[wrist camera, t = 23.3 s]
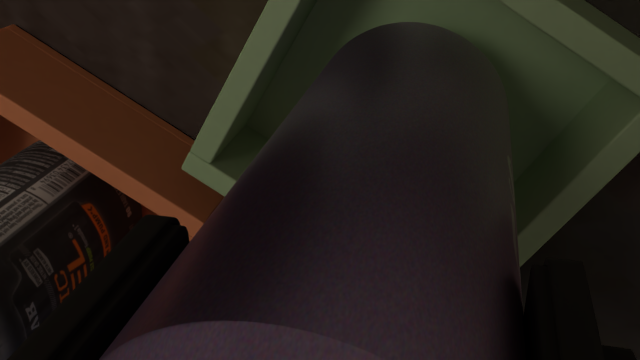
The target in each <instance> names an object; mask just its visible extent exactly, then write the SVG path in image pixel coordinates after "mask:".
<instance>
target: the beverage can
mask: <svg viewBox="0 0 640 360" xmlns="http://www.w3.org/2000/svg"><path fill="white" fill-rule="evenodd" d="M99 360H526V350H525V335H524V321H523V307H522V293H521V279H520V265H519V250H518V236H517V222H516V208H515V194H514V180H513V166H512V151H511V137H510V123H509V109H508V101H507V96H506V92H505V89H504V86H503V83H502V81H501V79H500V77H499V75H498V73H497V71H496V69H495V68H494V66H493V65H492V63H491V62H490V61H489V59H488V58H487V57H486V56H485V55H484V54H483V53H482V52H481V51H480V50H479V49H478V48H477V47H476V46H475V45H473V44H472V43H471V42H469V41H468V40H467V39H465V38H464V37H462V36H460V35H458V34H457V33H454V32H452V31H450V30H448V29H445V28H442V27H439V26H436V25H432V24H427V23H419V22H398V23H391V24H386V25H382V26H378V27H375V28H373V29H370V30H368V31H365V32H363V33H361V34H360V35H358V36H356V37H355V38H353V39H352V40H350V41H349V42H348V43H346V44H345V45H344V46H343V47H342V48H341V49H340V50H338V52H337V53H336V54H335V55H334V56H333V57H332V59H331V60H330V61H329V62H328V64H327V65H326V66H325V68H324V69H323V70H322V71H321V73H320V74H319V75H318V77H317V78H316V79H315V81H314V82H313V83H312V84H311V86H310V87H309V88H308V90H307V91H306V92H305V93H304V95H303V96H302V97H301V99H300V100H299V101H298V103H297V104H296V105H295V106H294V108H293V109H292V110H291V112H290V113H289V114H288V115H287V117H286V118H285V119H284V121H283V122H282V123H281V125H280V126H279V127H278V128H277V130H276V131H275V132H274V134H273V135H272V136H271V137H270V139H269V140H268V141H267V143H266V144H265V145H264V147H263V148H262V149H261V150H260V152H259V153H258V154H257V156H256V157H255V158H254V159H253V161H252V162H251V163H250V165H249V166H248V167H247V169H246V170H245V171H244V172H243V174H242V175H241V176H240V178H239V179H238V180H237V182H236V183H235V184H234V185H233V187H232V188H231V189H230V191H229V192H228V193H227V194H226V196H225V197H224V198H223V200H222V201H221V202H220V204H219V205H218V206H217V207H216V209H215V210H214V211H213V213H212V214H211V215H210V216H209V218H208V219H207V220H206V222H205V223H204V224H203V226H202V227H201V228H200V229H199V231H198V232H197V233H196V235H195V236H194V237H193V238H192V240H191V241H190V242H189V244H188V245H187V246H186V248H185V249H184V250H183V251H182V253H181V254H180V255H179V257H178V258H177V259H176V260H175V262H174V263H173V264H172V266H171V267H170V268H169V270H168V271H167V272H166V273H165V275H164V276H163V277H162V279H161V280H160V281H159V282H158V284H157V285H156V286H155V288H154V289H153V290H152V292H151V293H150V294H149V295H148V297H147V298H146V299H145V301H144V302H143V303H142V304H141V306H140V307H139V308H138V310H137V311H136V312H135V314H134V315H133V316H132V317H131V319H130V320H129V321H128V323H127V324H126V325H125V326H124V328H123V329H122V330H121V332H120V333H119V334H118V336H117V337H116V338H115V339H114V341H113V342H112V343H111V345H110V346H109V347H108V348H107V350H106V351H105V352H104V354H103V355H102V356H101V358H100V359H99Z"/></svg>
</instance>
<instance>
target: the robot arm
mask: <svg viewBox="0 0 640 360" xmlns="http://www.w3.org/2000/svg"><path fill="white" fill-rule="evenodd" d="M189 242H190V241H189V234H188V230H187V228H186V227H185V226H181V225H180V222H179V221H178V219H177V218H175V217H168V216H159V215H150V214H149V215H145V216H144V217H142V218H141V219H140V220H139V221H138V222H137V224H136V225H135V226H134V227H133V228H132V229H131V230H130V231H129V232H128V233H127V234H126V235H125V236H124V237H123V238H122V239H121V240H120V241H119V242H118V243H117V245H116V246H115V247H114V248H113V249H112V250H111V251H110V252H109V253H108V254H107V255H106V256H105V257H104V258H103V259H102V260H101V261H100V262H99V263H98V264H97V266H96V267H95V268H94V269H93V270H92V271H91V272H90V273H89V274H88V275H87V276H86V277H85V278H84V279H83V280H82V281H81V282H80V283H79V284H78V285H77V287H76V288H75V289H74V290H73V291H72V292H71V293H70V294H69V295H68V296H67V297H66V298H65V299H64V300H63V301H62V302H61V303H60V304H59V305H58V307H57V308H56V309H55V310H54V311H53V312H52V313H51V314H50V315H49V316H48V317H47V318H46V319H45V320H44V321H43V322H42V323H41V324H40V325H39V326H38V328H37V329H36V330H35V331H34V332H33V333H32V334H31V335H30V336H29V337H28V338H27V339H26V340H25V341H24V342H23V343H22V344H21V345H20V346H19V347H18V349H17V350H16V351H15V352H14V353H13V354H12V355H11V356H10V357H9V358H8V359H7V360H99V359H100V358H101V356H102V355H103V354H104V352H105V351H106V350H107V348H108V347H109V346H110V345H111V343H112V342H113V341H114V339H115V338H116V337H117V336H118V334H119V333H120V332H121V330H122V329H123V328H124V326H125V325H126V324H127V323H128V321H129V320H130V319H131V317H132V316H133V315H134V314H135V312H136V311H137V310H138V308H139V307H140V306H141V304H142V303H143V302H144V301H145V299H146V298H147V297H148V295H149V294H150V293H151V292H152V290H153V289H154V288H155V286H156V285H157V284H158V282H159V281H160V280H161V279H162V277H163V276H164V275H165V273H166V272H167V271H168V270H169V268H170V267H171V266H172V264H173V263H174V262H175V260H176V259H177V258H178V257H179V255H180V254H181V253H182V251H183V250H184V249H185V248H186V246H187V245H188V244H189ZM523 321H524V335H525V350H526V360H636V357H635V355H634V353H633V352H632V351H631V349H626V348H619V347H611V346H604V345H601V341H600V337H599V332H598V328H597V323H596V319H595V314H594V310H593V305H592V301H591V296H590V292H589V287H588V283H587V278H586V274H585V269H584V265H583V262H581V261H573V260H563V259H554V258H546V259H545V262H544V266H539V265H532V268H531V272H530V278H529V284H528V291H527V297H526V303H525V309H524V315H523Z"/></svg>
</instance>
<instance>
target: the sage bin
mask: <svg viewBox="0 0 640 360" xmlns="http://www.w3.org/2000/svg"><path fill="white" fill-rule="evenodd" d="M398 22H419V23H427V24H432V25H436V26H439V27H442V28H445V29H448V30H450V31H452V32H454V33H457V34H458V35H460V36H462V37H464V38H465V39H467V40H468V41H469V42H471V43H472V44H473V45H475V46H476V47H477V48H478V49H479V50H480V51H481V52H482V53H483V54H484V55H485V56H486V57H487V58H488V59H489V61H490V62H491V63H492V65H493V66H494V68H495V69H496V71H497V73H498V75H499V77H500V79H501V81H502V83H503V86H504V89H505V92H506V96H507V101H508V109H509V123H510V137H511V151H512V166H513V180H514V194H515V208H516V222H517V236H518V250H519V265H520V267H521V266H522V265H523V264H524V263H525V262H526V261H527V260H528V259H529V258H530V257H531V256H532V255H533V254H534V253H535V252H536V251H537V250H539V249H540V248H541V247H542V246H543V245H544V244H545V243H546V242H547V241H548V240H549V239H550V238H551V237H552V236H553V235H554V234H555V233H556V232H557V231H558V230H559V229H560V228H561V227H562V226H563V225H565V224H566V223H567V222H568V221H569V220H570V219H571V218H572V217H573V216H574V215H575V214H576V213H577V212H578V211H579V210H580V209H581V208H582V207H583V206H584V205H585V204H586V203H587V202H588V201H589V200H591V199H592V198H593V197H594V196H595V195H596V194H597V193H598V192H599V191H600V190H601V189H602V188H603V187H604V186H605V185H606V184H607V183H608V182H609V181H610V180H611V179H612V178H613V177H614V176H615V175H617V174H618V173H619V172H620V171H621V170H622V169H623V168H624V167H625V166H626V165H627V164H628V163H629V162H630V161H631V160H632V159H633V158H634V157H635V156H636V155H637V154H638V153H639V152H640V38H639V37H637V36H636V35H634V34H633V33H631V32H630V31H629V30H627V29H626V28H624V27H623V26H621V25H620V24H618V23H617V22H615V21H614V20H612V19H611V18H610V17H608V16H607V15H605V14H604V13H602V12H601V11H599V10H598V9H596V8H595V7H594V6H592V5H591V4H589V3H588V2H586V1H585V0H268V2H267V4H266V6H265V8H264V10H263V12H262V14H261V15H260V17H259V19H258V21H257V23H256V25H255V27H254V29H253V31H252V33H251V35H250V36H249V38H248V40H247V42H246V44H245V46H244V48H243V50H242V52H241V54H240V56H239V58H238V59H237V61H236V63H235V65H234V67H233V69H232V71H231V73H230V75H229V77H228V79H227V80H226V82H225V84H224V86H223V88H222V90H221V92H220V94H219V96H218V98H217V100H216V101H215V103H214V105H213V107H212V109H211V111H210V113H209V115H208V117H207V119H206V121H205V122H204V124H203V126H202V128H201V130H200V132H199V134H198V136H197V138H196V140H195V142H194V144H193V145H192V147H191V150H190V152H189V153H188V155H187V157H186V159H185V161H184V163H183V165H182V168H181V169H182V170H184V171H185V172H187V173H188V174H190V175H191V176H193V177H195V178H196V179H198V180H199V181H201V182H202V183H204V184H205V185H207V186H209V187H210V188H212V189H213V190H215V191H216V192H218V193H220V194H221V195H223V196H224V197H225V196H226V194H227V193H228V192H229V191H230V189H231V188H232V187H233V185H234V184H235V183H236V182H237V180H238V179H239V178H240V176H241V175H242V174H243V172H244V171H245V170H246V169H247V167H248V166H249V165H250V163H251V162H252V161H253V159H254V158H255V157H256V156H257V154H258V153H259V152H260V150H261V149H262V148H263V147H264V145H265V144H266V143H267V141H268V140H269V139H270V137H271V136H272V135H273V134H274V132H275V131H276V130H277V128H278V127H279V126H280V125H281V123H282V122H283V121H284V119H285V118H286V117H287V115H288V114H289V113H290V112H291V110H292V109H293V108H294V106H295V105H296V104H297V103H298V101H299V100H300V99H301V97H302V96H303V95H304V93H305V92H306V91H307V90H308V88H309V87H310V86H311V84H312V83H313V82H314V81H315V79H316V78H317V77H318V75H319V74H320V73H321V71H322V70H323V69H324V68H325V66H326V65H327V64H328V62H329V61H330V60H331V59H332V57H333V56H334V55H335V54H336V53H337V52H338V50H340V49H341V48H342V47H343V46H344V45H345V44H346V43H348V42H349V41H350V40H352V39H353V38H355V37H356V36H358V35H360V34H361V33H363V32H365V31H368V30H370V29H373V28H375V27H378V26H382V25H386V24H391V23H398Z"/></svg>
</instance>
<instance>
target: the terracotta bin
mask: <svg viewBox="0 0 640 360" xmlns="http://www.w3.org/2000/svg"><path fill="white" fill-rule="evenodd" d="M39 140H41V141H42V142H44V143H45V144H47V145H48V146H50V147H52V148H53V149H55V150H56V151H58V152H60V153H61V154H63V155H64V156H66V157H67V158H69V159H71V160H72V161H74V162H75V163H77V164H78V165H80V166H82V167H83V168H85V169H86V170H88V171H90V172H91V173H93V174H94V175H96V176H97V177H99V178H101V179H102V180H104V181H105V182H107V183H108V184H110V185H112V186H113V187H115V188H116V189H118V190H120V191H121V192H123V193H124V194H126V195H127V196H129V197H131V198H132V199H134V200H135V201H137V202H138V203H140V204H141V207H142V217H144V216H145V215H149V214H150V215H159V216H168V217H175V218H177V219H178V221H179V222H180V225H181V226H185V227H186V228H187V230H188V234H189V241H191V240H192V238H193V237H194V236H195V235H196V233H197V232H198V231H199V229H200V228H201V227H202V226H203V224H204V223H205V222H206V220H207V219H208V218H209V216H210V215H211V214H212V213H213V211H214V210H215V209H216V207H217V206H218V205H219V204H220V202H221V201H222V200H223V198H224V196H223V195H221V194H220V193H218V192H216V191H215V190H213V189H212V188H210V187H209V186H207V185H205V184H204V183H202V182H201V181H199V180H198V179H196V178H195V177H193V176H191V175H190V174H188V173H187V172H185V171H184V170H182V169H181V168H182V165H183V163H184V161H185V159H186V157H187V155H188V153H189V152H190V150H191V147H192V145H193V144H194V142H195V140H193V139H191V138H190V137H188V136H187V135H185V134H184V133H182V132H181V131H179V130H177V129H176V128H174V127H173V126H171V125H170V124H168V123H167V122H165V121H164V120H162V119H160V118H159V117H157V116H156V115H154V114H153V113H151V112H150V111H148V110H146V109H145V108H143V107H142V106H140V105H139V104H137V103H136V102H134V101H132V100H131V99H129V98H128V97H126V96H125V95H123V94H122V93H120V92H118V91H117V90H115V89H114V88H112V87H111V86H109V85H108V84H106V83H104V82H103V81H101V80H100V79H98V78H97V77H95V76H94V75H92V74H90V73H89V72H87V71H86V70H84V69H83V68H81V67H80V66H78V65H76V64H75V63H73V62H72V61H70V60H69V59H67V58H66V57H64V56H63V55H61V54H59V53H58V52H56V51H55V50H53V49H52V48H50V47H49V46H47V45H45V44H44V43H42V42H41V41H39V40H38V39H36V38H35V37H33V36H31V35H30V34H28V33H27V32H25V31H24V30H22V29H21V28H19V27H17V26H16V25H10V26H8V27H6V28H2V29H0V164H2V163H3V162H5V161H6V160H8V159H9V158H11V157H12V156H14V155H16V154H17V153H18V152H20V151H22V150H23V149H25V148H26V147H28V146H30V145H32V144H33V143H35V142H37V141H39Z"/></svg>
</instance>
